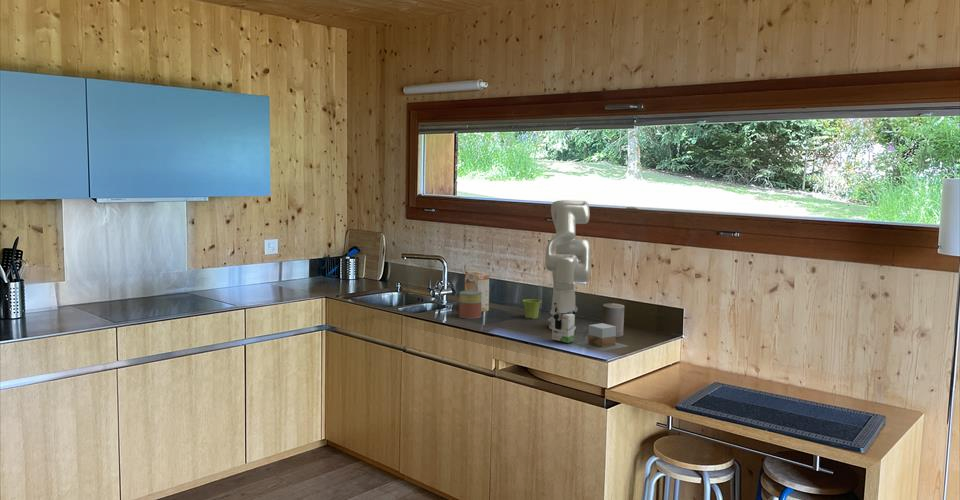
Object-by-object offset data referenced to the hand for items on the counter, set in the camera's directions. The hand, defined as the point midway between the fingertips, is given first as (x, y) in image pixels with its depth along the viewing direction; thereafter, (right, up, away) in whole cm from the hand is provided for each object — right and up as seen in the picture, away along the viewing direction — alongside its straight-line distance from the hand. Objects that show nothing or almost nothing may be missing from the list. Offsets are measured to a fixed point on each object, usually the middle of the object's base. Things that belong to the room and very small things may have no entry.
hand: (563, 327), depth 308 cm
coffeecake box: (-37, +2, +73) cm, 82 cm away
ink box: (0, -6, +1) cm, 6 cm away
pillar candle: (+24, -6, +16) cm, 29 cm away
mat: (+16, -7, -3) cm, 18 cm away
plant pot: (-10, -1, +52) cm, 53 cm away
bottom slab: (+16, -7, -3) cm, 18 cm away
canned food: (-40, 0, +53) cm, 67 cm away
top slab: (+16, -3, -4) cm, 17 cm away
